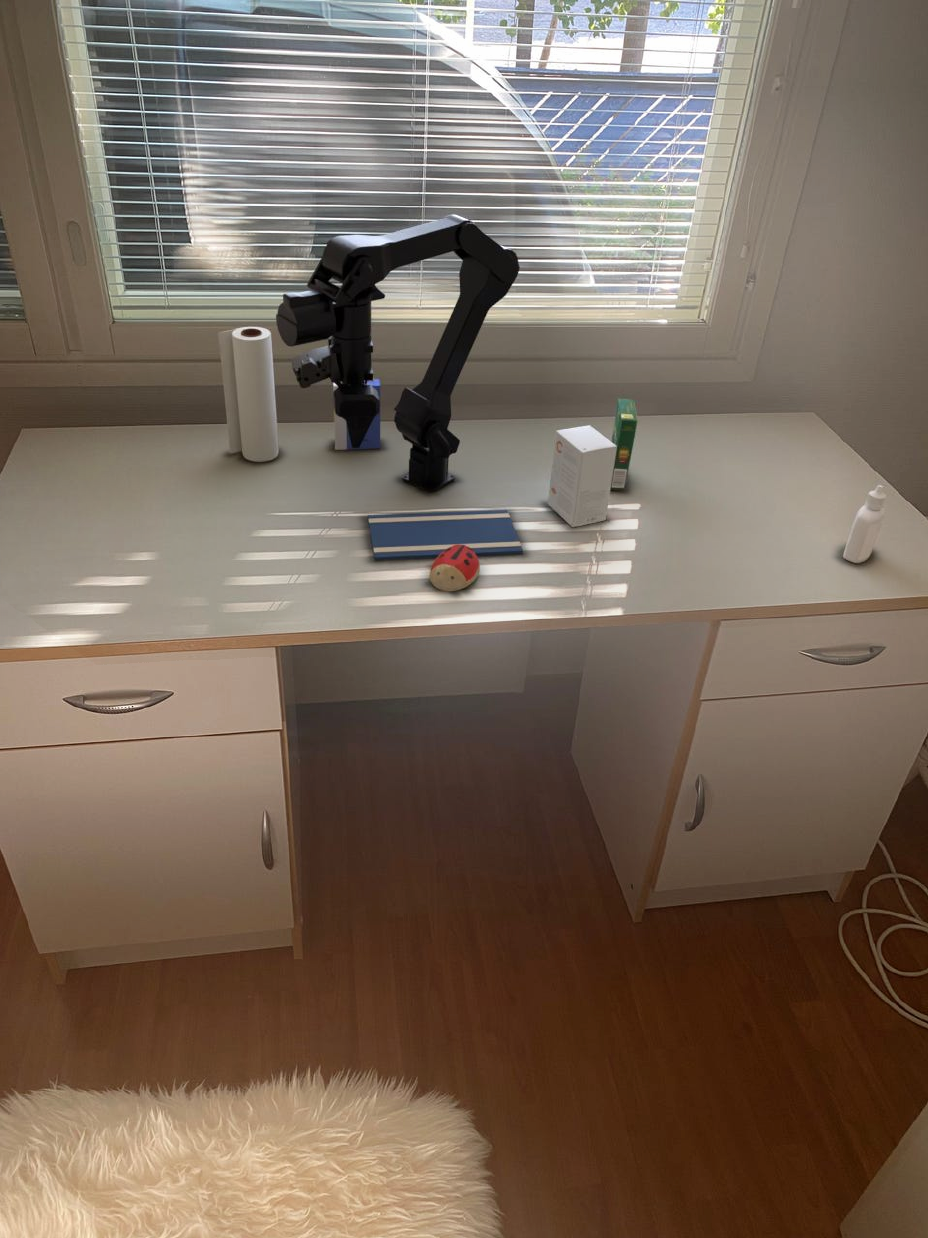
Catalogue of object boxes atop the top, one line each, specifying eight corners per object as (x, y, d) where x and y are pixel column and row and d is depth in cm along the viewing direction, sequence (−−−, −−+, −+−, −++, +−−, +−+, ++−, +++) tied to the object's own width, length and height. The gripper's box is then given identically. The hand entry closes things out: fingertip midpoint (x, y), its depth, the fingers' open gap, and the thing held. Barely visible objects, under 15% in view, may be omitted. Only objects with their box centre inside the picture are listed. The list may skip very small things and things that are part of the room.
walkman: (378, 441, 172) (378, 376, 164) (380, 448, 169) (380, 383, 162) (334, 442, 170) (332, 377, 163) (334, 449, 168) (333, 384, 161)
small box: (606, 521, 153) (618, 446, 146) (571, 528, 151) (582, 452, 143) (579, 497, 159) (590, 423, 151) (546, 504, 157) (554, 429, 149)
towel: (374, 560, 141) (374, 556, 140) (367, 518, 150) (367, 514, 150) (522, 554, 144) (523, 550, 144) (506, 513, 154) (507, 509, 153)
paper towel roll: (286, 453, 166) (278, 330, 153) (262, 466, 162) (252, 341, 149) (254, 441, 169) (244, 320, 156) (230, 454, 165) (217, 330, 152)
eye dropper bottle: (880, 560, 148) (906, 491, 141) (850, 565, 146) (874, 495, 139) (862, 545, 151) (886, 477, 144) (832, 550, 150) (855, 481, 143)
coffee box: (626, 492, 161) (638, 419, 154) (608, 491, 161) (620, 417, 154) (623, 469, 168) (635, 398, 160) (606, 468, 168) (617, 397, 160)
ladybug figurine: (421, 588, 135) (421, 567, 133) (443, 553, 143) (444, 532, 141) (466, 599, 134) (468, 577, 132) (487, 562, 142) (488, 542, 140)
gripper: (290, 310, 143) (296, 409, 152) (296, 358, 129) (301, 464, 138) (366, 310, 145) (366, 407, 154) (380, 357, 130) (380, 461, 140)
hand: (352, 433), depth 147 cm, fingers open, 9 cm apart
